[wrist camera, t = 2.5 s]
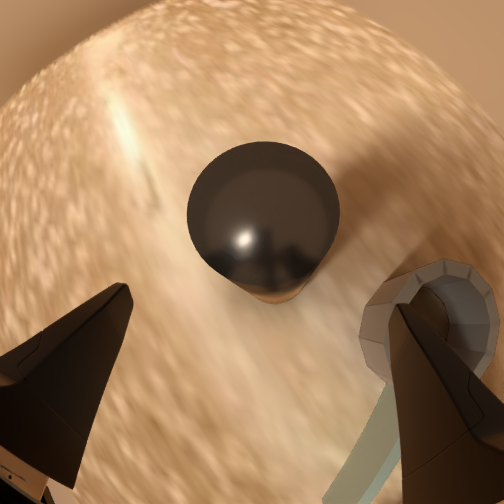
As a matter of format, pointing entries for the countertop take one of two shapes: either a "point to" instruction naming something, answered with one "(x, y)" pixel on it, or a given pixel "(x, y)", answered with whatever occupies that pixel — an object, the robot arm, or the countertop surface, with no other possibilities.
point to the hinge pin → (264, 218)
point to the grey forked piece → (378, 360)
